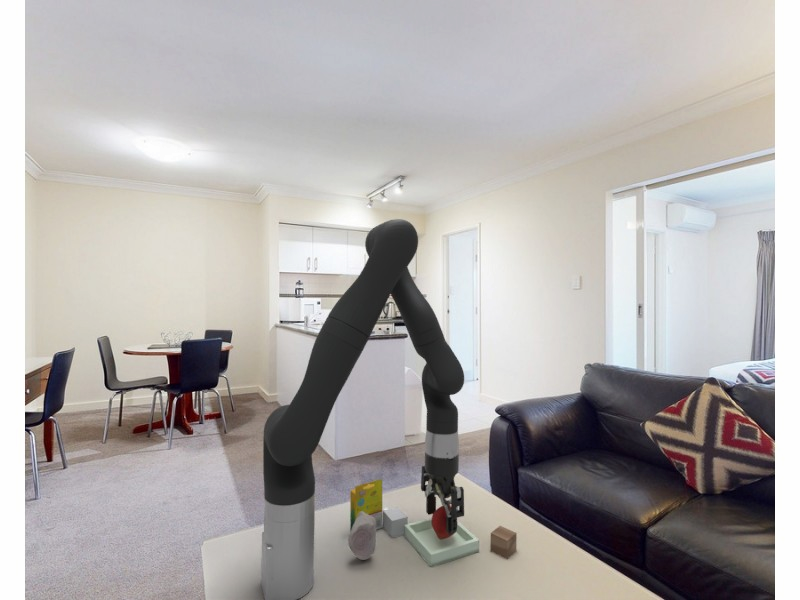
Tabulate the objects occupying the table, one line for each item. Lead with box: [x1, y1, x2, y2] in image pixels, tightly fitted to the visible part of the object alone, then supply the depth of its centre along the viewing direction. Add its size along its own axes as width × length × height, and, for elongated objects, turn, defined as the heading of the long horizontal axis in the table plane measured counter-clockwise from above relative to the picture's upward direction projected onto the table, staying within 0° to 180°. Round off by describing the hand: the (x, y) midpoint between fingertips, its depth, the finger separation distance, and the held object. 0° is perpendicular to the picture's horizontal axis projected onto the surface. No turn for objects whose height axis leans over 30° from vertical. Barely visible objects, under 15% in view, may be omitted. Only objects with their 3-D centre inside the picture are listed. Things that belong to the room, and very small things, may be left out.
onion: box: [431, 504, 458, 540], centre depth 89 cm, size 6×6×8 cm
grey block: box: [382, 506, 409, 539], centre depth 94 cm, size 4×5×4 cm
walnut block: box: [489, 525, 517, 560], centre depth 87 cm, size 4×4×4 cm
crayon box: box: [349, 478, 383, 532], centre depth 94 cm, size 7×3×12 cm, turn 123°
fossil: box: [347, 511, 377, 561], centre depth 83 cm, size 6×4×10 cm, turn 105°
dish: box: [403, 517, 480, 568], centre depth 89 cm, size 12×12×2 cm
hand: (440, 522), depth 89 cm, fingers open, 8 cm apart
